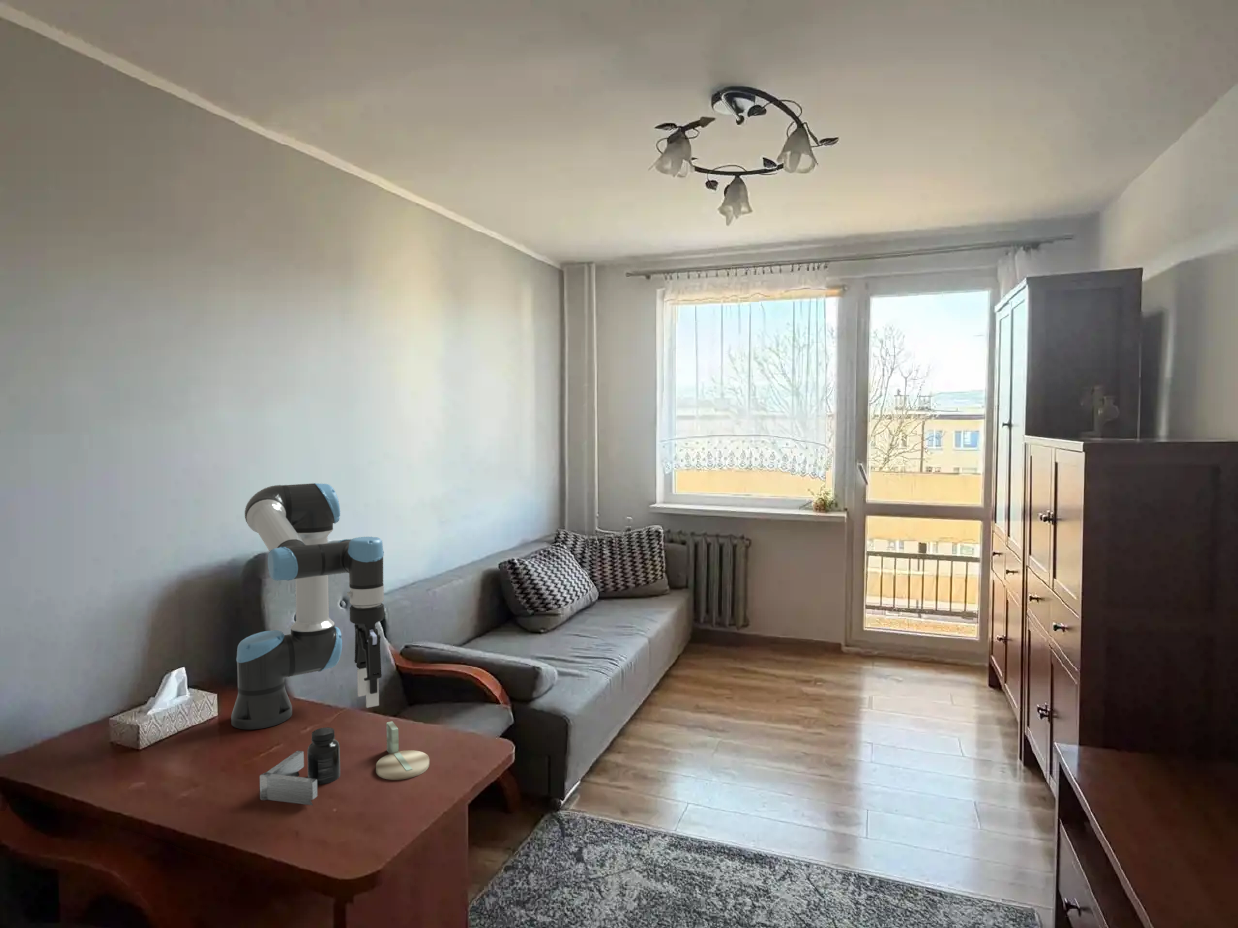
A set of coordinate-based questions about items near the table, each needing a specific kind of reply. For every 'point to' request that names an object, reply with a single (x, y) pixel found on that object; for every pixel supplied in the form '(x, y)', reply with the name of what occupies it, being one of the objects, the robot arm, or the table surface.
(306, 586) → the robot arm
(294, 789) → the vee block
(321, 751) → the supplement bottle
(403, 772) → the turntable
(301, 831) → the table surface
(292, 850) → the table surface
